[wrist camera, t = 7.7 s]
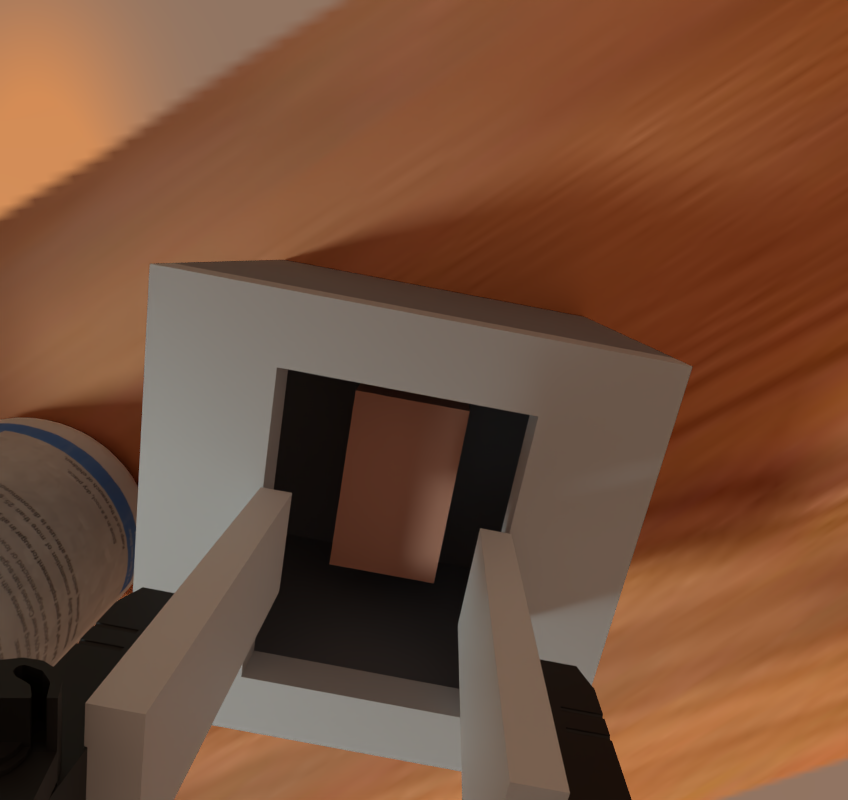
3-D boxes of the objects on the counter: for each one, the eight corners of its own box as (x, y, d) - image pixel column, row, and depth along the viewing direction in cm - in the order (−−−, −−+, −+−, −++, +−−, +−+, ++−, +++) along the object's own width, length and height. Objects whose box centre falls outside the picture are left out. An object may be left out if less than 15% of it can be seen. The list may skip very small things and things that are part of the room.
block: (437, 514, 23) (433, 583, 18) (354, 499, 23) (329, 564, 18) (465, 376, 21) (470, 411, 17) (376, 359, 21) (355, 390, 17)
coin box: (252, 531, 25) (126, 709, 15) (283, 259, 22) (149, 263, 12) (515, 580, 25) (558, 789, 15) (584, 316, 22) (692, 366, 12)
